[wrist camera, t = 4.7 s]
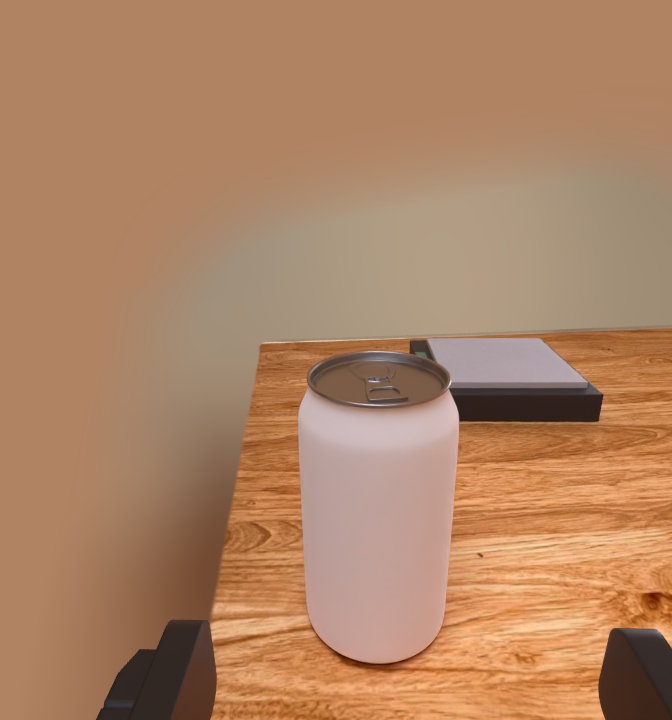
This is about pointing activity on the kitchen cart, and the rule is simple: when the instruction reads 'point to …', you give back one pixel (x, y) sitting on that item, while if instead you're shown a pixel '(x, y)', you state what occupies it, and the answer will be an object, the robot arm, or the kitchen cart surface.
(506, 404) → the scale
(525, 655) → the kitchen cart surface
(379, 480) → the can
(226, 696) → the kitchen cart surface
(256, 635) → the kitchen cart surface
